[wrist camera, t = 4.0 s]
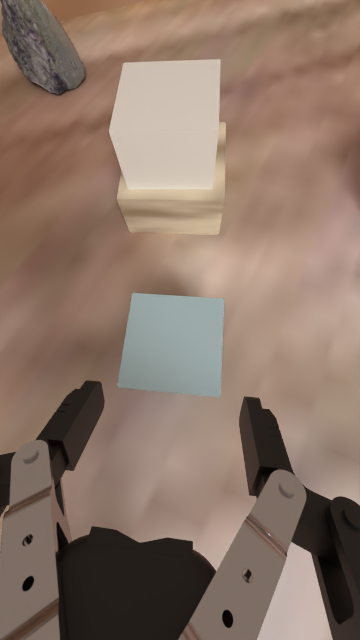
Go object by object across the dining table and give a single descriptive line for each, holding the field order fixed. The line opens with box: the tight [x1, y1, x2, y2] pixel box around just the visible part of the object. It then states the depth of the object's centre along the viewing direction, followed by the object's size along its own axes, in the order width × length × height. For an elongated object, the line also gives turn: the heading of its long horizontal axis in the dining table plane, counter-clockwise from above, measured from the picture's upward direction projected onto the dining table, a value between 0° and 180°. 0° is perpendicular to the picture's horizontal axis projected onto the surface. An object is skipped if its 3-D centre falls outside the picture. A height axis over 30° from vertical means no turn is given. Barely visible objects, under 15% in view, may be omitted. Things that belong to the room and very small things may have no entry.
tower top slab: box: [109, 59, 220, 189], centre depth 20 cm, size 8×8×5 cm
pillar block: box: [117, 293, 224, 397], centre depth 16 cm, size 5×5×10 cm
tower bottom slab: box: [116, 122, 226, 235], centre depth 24 cm, size 10×10×5 cm
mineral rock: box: [0, 0, 85, 95], centre depth 30 cm, size 13×11×10 cm
